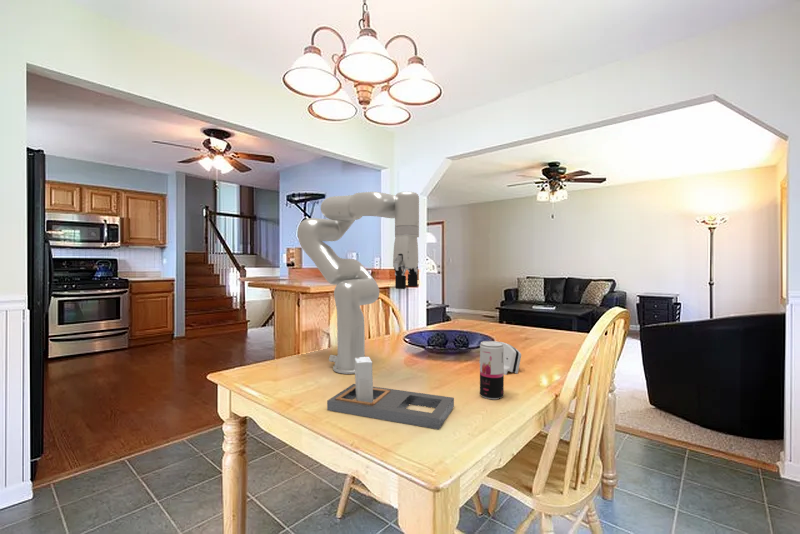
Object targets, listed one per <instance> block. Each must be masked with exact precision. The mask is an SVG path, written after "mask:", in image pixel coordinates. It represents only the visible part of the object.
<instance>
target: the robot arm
mask: <svg viewBox="0 0 800 534" xmlns="http://www.w3.org/2000/svg"><path fill="white" fill-rule="evenodd" d="M419 196H420V195H419V194H418V193H417V192H414V191H401V192H397V193H395V194H389V193H385V192H379V191H366V192H365V191H363V192H356V193H354V194H351V195H350V194H349V195H348V194H347V195H336V196H329V197H327V198H325V199H323V200H322V202H321V204H320V211H321V214H322V215H323V216H324V217H325V218H320V217H319V218H317V217H314V218H313V217H310V218H305V219H303V220H302V221H301V222H300V223H299V225H298V227H297V237H298V242H299V244H300V247H301V249H302V250H303V251H304V253H305V254H306V255H307V256H308V257H309V258H310V259H311V260H312V262H313V263H314V265H315V266H316V268H317V269H318V271H319V272H320V273H321V275H322V277H324V279H325V281H326V282H328V284H330V285H336V286H335V287H334V290H333V296H334V302H335V307H336V316H337V317H336V327H337V328H336V329H337V332H336V333H337V335H336V336H337V338H336V339H337V355H335V354H334V355H333V354H330V355H329V358H328V362H333V363H334V365H333V366H332V370H333V371H334V372H335V373H338V374H343V375H344V374H345V375H351V374H352V375H353V374H354V375H355V358H357V357H366V356H365V354H366V352H365V351H366V350H365V349H366V348H365V347H366V345H365V341H366V340H365V337H366V336H365V331H366V329H365V316H364V314H363V313H364V312H363V311H362V309H361V306H366V305H371V304H374V303H375V302H376V301H378V300H379V298H380V297H379V296H380V287H379V284H378V283H377V281H376V280H375V279H374V277H373V276H372V274H370V272H369V271H368V269H366V267H365V266H364V265H363V264H362V263H361V261H359V260H357V259H355V258H342V257H340V256H339V255H337V253H336V252H335V250H334V249H333V248H332V247H331V246H330V245H328V244H327V243H326V242H336V241H338V240H340V239H341V238H342V237H343V236H344V235H345V234H346V232H348V230H349V229H350V227H351V226H352V225H353V223H355V221H357V220H360V219H361V218H363V217H377V218H386V219H394V243H393V254H392V255H393V256H392V257H393V258H392V267H393V271H394V276H395V277H394V279H395V282H394V283H395V285H394V286H395V287H394V288H395V289H396V290H406V288H407V287H415V288H416V287H418V280H419V279H418V277H419V276H418V274H419V271H418V270H419V266H418V265H419V244H418V238H420V197H419ZM406 271H408V274H407V276H406V273H407V272H406Z"/></svg>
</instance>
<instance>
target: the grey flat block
mask: <svg viewBox="0 0 800 534" xmlns="http://www.w3.org/2000/svg"><path fill="white" fill-rule="evenodd" d="M409 404H410V405H413V406H418V405H419V406H420V407H424V406H426V408H431V407H432V409H434V410H433V411H432V412H429V411H428V412H427V411H421V410H417V409H416V410H415V409H409V408H408V407H409V406H410V405H409ZM419 406H418V407H419ZM453 407H455V398H454V397H452V396H445V395H437V394H431V393H422V392H416V391H410V390H409V391H407V390H400V389H396V388H395V389H394V388H386V387H379V386H373V402H372V403H370V402H364V401H358V400H356V385H355V383H352V384H350V385H349V386H348V387H346V388H344V389H343V390H342V391H340V392H339V393H337V394H335V395H334V396H332V397H331V398H329V399H328V400H327V401H326V410H327V411H330V412H335V413H342V414H345V415H346V414H348V415H352V416H353V415H354V416H358V417H364V418H370V419H374V420H375V419H377V420H383V421H387V422H392V423H393V422H394V423H399V424H406V425H412V426H417V427H422V428H423V427H424V428H427V429H434V430H440V429H441V427H442V426H443V424H445V422H446V419H448V417H449V415H450V414H451V413H452V410H453V409H454V408H453Z"/></svg>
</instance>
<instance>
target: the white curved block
mask: <svg viewBox="0 0 800 534" xmlns="http://www.w3.org/2000/svg"><path fill="white" fill-rule="evenodd" d="M500 342H501V343H503V346H504V375H505V376H506V375H507V374H508V372H511V373H515V374H519V373H518V372H519V369H520V365H521V359H522V353H521V352H520V350H519V349H517V348H516V347H514V346H512V345H511V344H509V343H506V342H503V341H500ZM478 363H479V364H480V360H479V362H478Z"/></svg>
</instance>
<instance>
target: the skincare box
mask: <svg viewBox="0 0 800 534" xmlns="http://www.w3.org/2000/svg"><path fill="white" fill-rule="evenodd" d="M354 379H355V380H354V381H355V383H354V384H355V385H356V397H355V400H358V401H364V402H370V403H372V402H373V401H374V399H373V387H374V385H373V384H374V381H373V361H372V359H371V357H370V356H365V357H357V358H355V374H354Z"/></svg>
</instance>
